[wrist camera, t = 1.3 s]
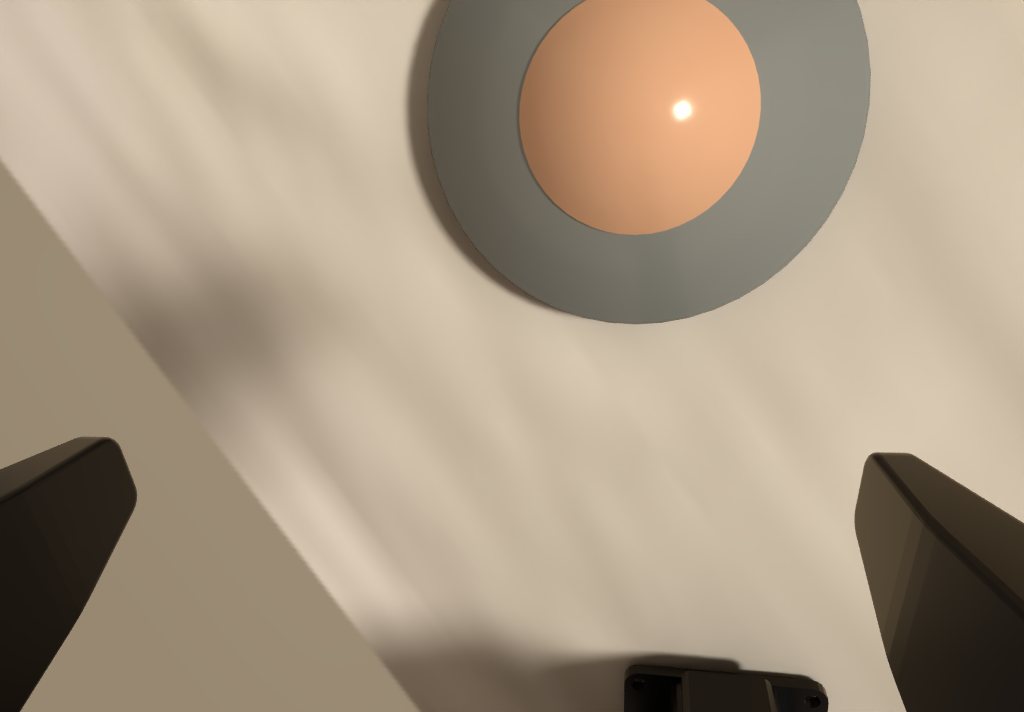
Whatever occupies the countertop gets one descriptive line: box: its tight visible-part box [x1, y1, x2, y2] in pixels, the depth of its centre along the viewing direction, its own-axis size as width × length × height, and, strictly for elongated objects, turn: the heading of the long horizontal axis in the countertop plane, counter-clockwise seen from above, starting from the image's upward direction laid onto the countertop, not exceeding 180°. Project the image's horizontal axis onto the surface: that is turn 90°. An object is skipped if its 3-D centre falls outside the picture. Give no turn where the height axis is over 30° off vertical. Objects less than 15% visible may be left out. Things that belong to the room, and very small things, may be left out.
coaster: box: [427, 0, 871, 324], centre depth 18 cm, size 11×11×1 cm
